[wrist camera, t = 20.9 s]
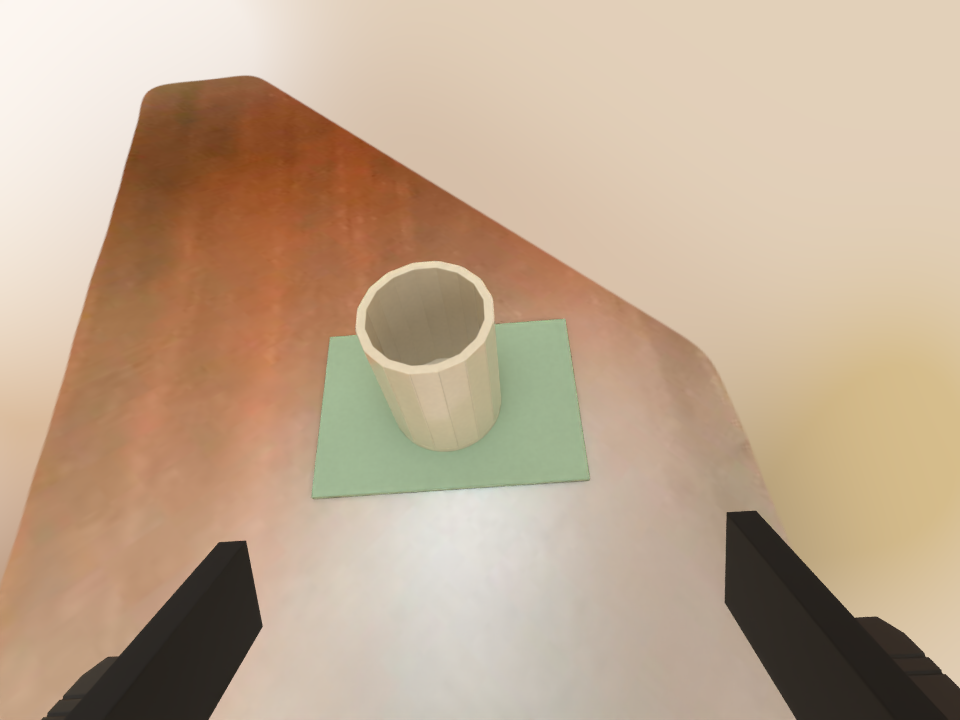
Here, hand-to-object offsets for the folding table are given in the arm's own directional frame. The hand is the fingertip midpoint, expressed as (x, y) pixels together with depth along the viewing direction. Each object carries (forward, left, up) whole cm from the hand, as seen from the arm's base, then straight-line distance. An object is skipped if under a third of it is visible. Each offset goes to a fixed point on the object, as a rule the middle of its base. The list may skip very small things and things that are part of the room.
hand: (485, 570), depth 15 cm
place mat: (+4, -17, -23) cm, 29 cm away
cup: (+4, -17, -23) cm, 29 cm away
